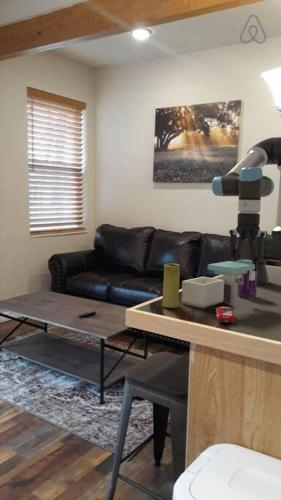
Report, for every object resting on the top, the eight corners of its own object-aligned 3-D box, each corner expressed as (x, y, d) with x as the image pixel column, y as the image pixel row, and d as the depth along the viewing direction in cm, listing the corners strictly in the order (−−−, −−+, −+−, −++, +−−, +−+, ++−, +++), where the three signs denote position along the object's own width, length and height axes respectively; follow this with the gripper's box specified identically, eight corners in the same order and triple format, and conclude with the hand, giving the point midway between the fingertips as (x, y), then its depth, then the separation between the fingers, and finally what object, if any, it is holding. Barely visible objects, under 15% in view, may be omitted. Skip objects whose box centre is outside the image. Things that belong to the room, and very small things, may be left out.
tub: (202, 297, 153) (203, 276, 152) (223, 301, 147) (224, 280, 146) (181, 303, 143) (182, 281, 142) (202, 308, 137) (203, 284, 136)
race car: (215, 313, 133) (215, 301, 132) (232, 314, 132) (232, 302, 131) (216, 324, 120) (216, 311, 119) (234, 326, 119) (235, 312, 118)
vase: (181, 304, 141) (182, 264, 140) (177, 308, 136) (178, 266, 134) (164, 302, 143) (165, 262, 142) (159, 307, 138) (160, 265, 136)
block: (237, 267, 149) (237, 258, 148) (262, 271, 142) (263, 261, 142) (207, 273, 134) (207, 263, 134) (233, 277, 128) (234, 266, 127)
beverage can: (256, 299, 152) (258, 267, 151) (237, 297, 154) (238, 266, 152) (255, 295, 159) (257, 264, 158) (236, 293, 160) (238, 263, 159)
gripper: (221, 211, 144) (218, 276, 147) (267, 213, 132) (263, 283, 135) (232, 212, 150) (228, 274, 152) (277, 213, 138) (273, 281, 140)
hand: (245, 278), depth 144 cm, fingers closed on block, 4 cm apart
